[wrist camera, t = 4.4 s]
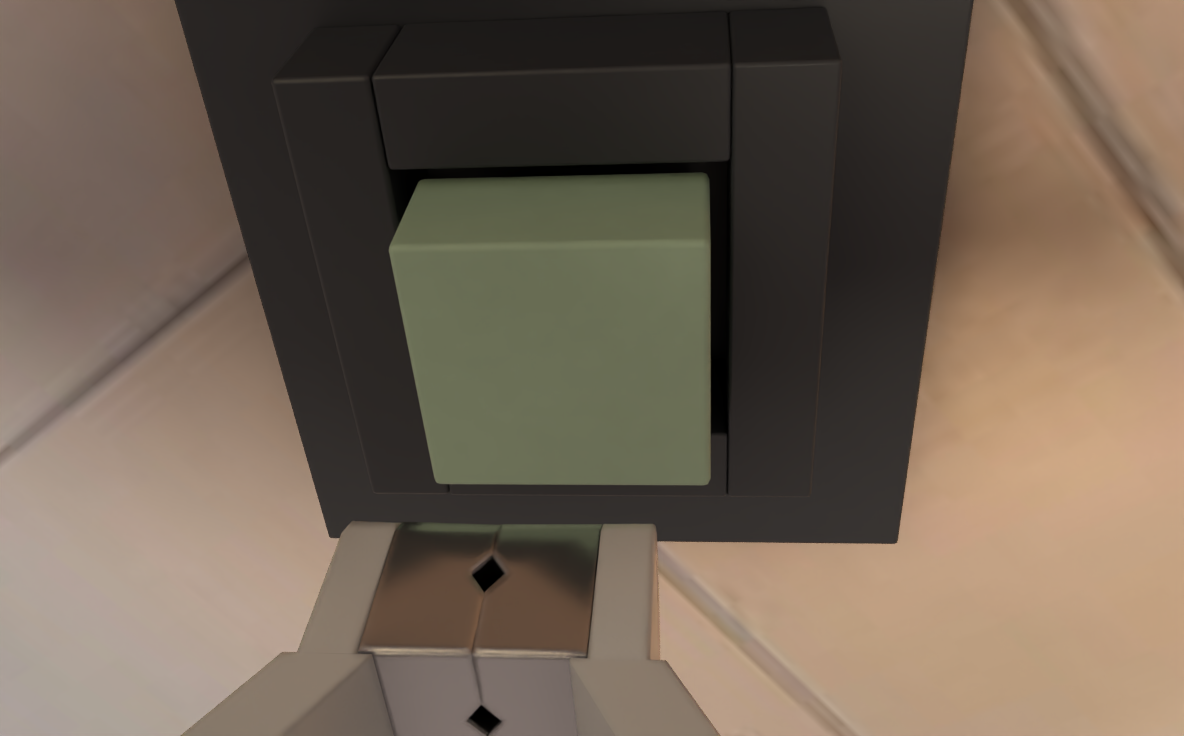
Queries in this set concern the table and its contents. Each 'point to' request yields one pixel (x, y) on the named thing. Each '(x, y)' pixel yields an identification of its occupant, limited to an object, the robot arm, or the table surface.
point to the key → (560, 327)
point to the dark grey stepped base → (605, 147)
